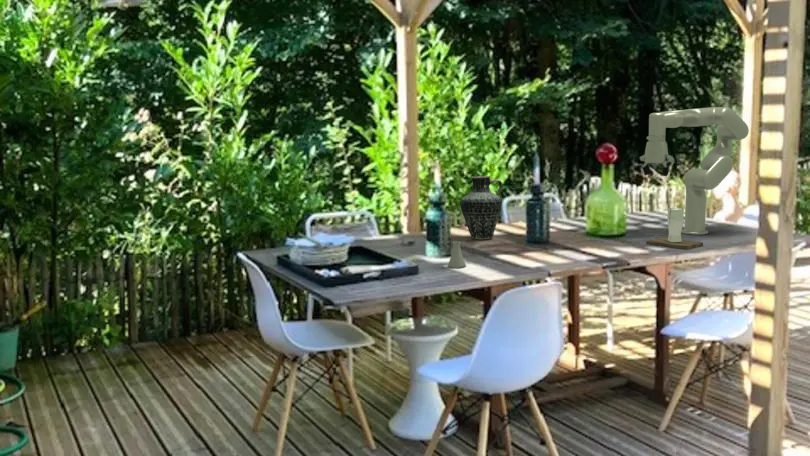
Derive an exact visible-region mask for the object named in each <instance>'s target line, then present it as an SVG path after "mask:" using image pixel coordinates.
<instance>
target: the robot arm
mask: <svg viewBox="0 0 810 456" xmlns="http://www.w3.org/2000/svg"><path fill="white" fill-rule="evenodd" d="M648 117H649V118H648V136H646V140H648V141H647V142H646V145H645V150H644V154H643V155H641V156H639V160H640V161H641V164H642V166H643V167H644V168H643V169H644V171H643V173H644V176H648V175H650V164H662V165H663V168H662V175H663V176H664V177H666V176H668V175H669V168H670V166H671V165H672V164H673V162H674V160H675V158H674V157H673V156H672V155H669V153H668V151H669V150H668V143H667V141H666V130H667V128H668V129H675V128H680V127H703V126H706V127H707V126H716V125H717V128H716V144H715V145H714V146H713V148H712V149H710V150H709V152H708V153H707V154H705V156H704V157H703V158H702V159H701V161H700V168H691V169H688V170H687V172H686V173H685V174H684V187H685V205H684V228H682V231H681V234H687V235H697V236H698V235H707V234H708V233H709V230H707V229H706V228H709V224H708V223H706V217H707V214H706V213H707V212H706V211H707V192H706V190H708V191H709V190H714V189H715V188H717V187H718V186H719V185H720V184H721V182H723V181H724V180H725V178H726V177H727V176H728V175H729V174H730V173H731V171H732V169H733V166H734V161H733V159H732V157H731V155H732V153H733V140H735V141H737V140H738V141H740V140H744V139H746V138H747V137H748V135H749V131H750V129H749V126H748V125H747V123H746V122H745V120H743V119H742V118H741V116H739V114H737V113H736V112H735V111H734V109H732V108H730V107H728V106H714V107H713V106H712V107H701V108H700V107H699V108H690V109H689V108H688V109H683V110H681V109H680V110H670V111H661V112H652V113H650V114H649V115H648ZM668 160H669V161H668Z"/></svg>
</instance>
